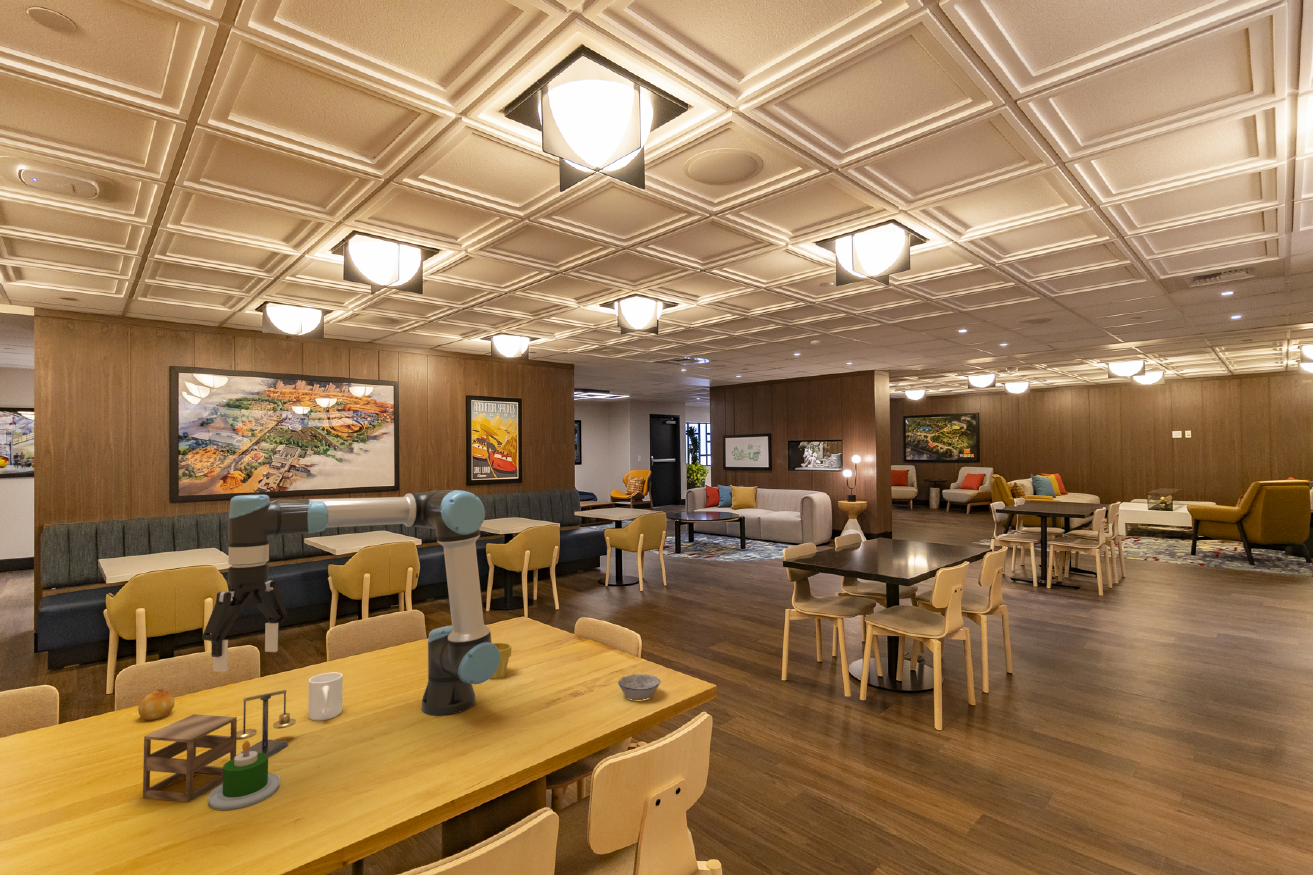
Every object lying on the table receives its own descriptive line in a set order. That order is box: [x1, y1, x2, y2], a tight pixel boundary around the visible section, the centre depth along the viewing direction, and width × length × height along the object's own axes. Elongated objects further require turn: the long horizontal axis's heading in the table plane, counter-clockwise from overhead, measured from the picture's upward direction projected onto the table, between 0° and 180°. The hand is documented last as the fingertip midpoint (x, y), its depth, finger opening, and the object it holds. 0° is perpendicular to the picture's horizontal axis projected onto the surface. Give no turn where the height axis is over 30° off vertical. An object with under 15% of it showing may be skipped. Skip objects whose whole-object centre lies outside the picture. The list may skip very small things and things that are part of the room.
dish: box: [207, 772, 281, 811], centre depth 134 cm, size 13×13×1 cm
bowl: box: [617, 673, 661, 701], centre depth 187 cm, size 13×13×5 cm
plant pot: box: [488, 641, 512, 680], centre depth 207 cm, size 10×10×10 cm
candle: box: [222, 740, 269, 797], centre depth 134 cm, size 8×8×10 cm
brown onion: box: [137, 688, 175, 721], centre depth 176 cm, size 8×8×8 cm
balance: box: [236, 689, 297, 758], centre depth 154 cm, size 7×18×16 cm, turn 170°
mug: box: [307, 671, 344, 722], centre depth 174 cm, size 9×12×11 cm
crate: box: [142, 713, 238, 803], centre depth 138 cm, size 12×12×13 cm
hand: (247, 660), depth 135 cm, fingers open, 13 cm apart
